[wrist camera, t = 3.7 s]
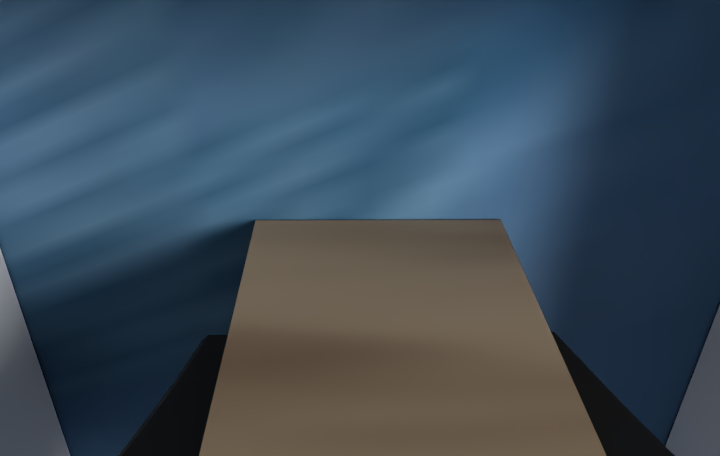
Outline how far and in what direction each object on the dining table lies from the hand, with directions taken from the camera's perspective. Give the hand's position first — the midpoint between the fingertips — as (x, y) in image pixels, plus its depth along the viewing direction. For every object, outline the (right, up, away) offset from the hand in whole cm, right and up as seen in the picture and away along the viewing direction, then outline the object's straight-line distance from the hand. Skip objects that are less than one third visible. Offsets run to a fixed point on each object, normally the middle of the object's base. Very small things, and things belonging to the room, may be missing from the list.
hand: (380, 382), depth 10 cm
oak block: (0, +1, +1) cm, 2 cm away
